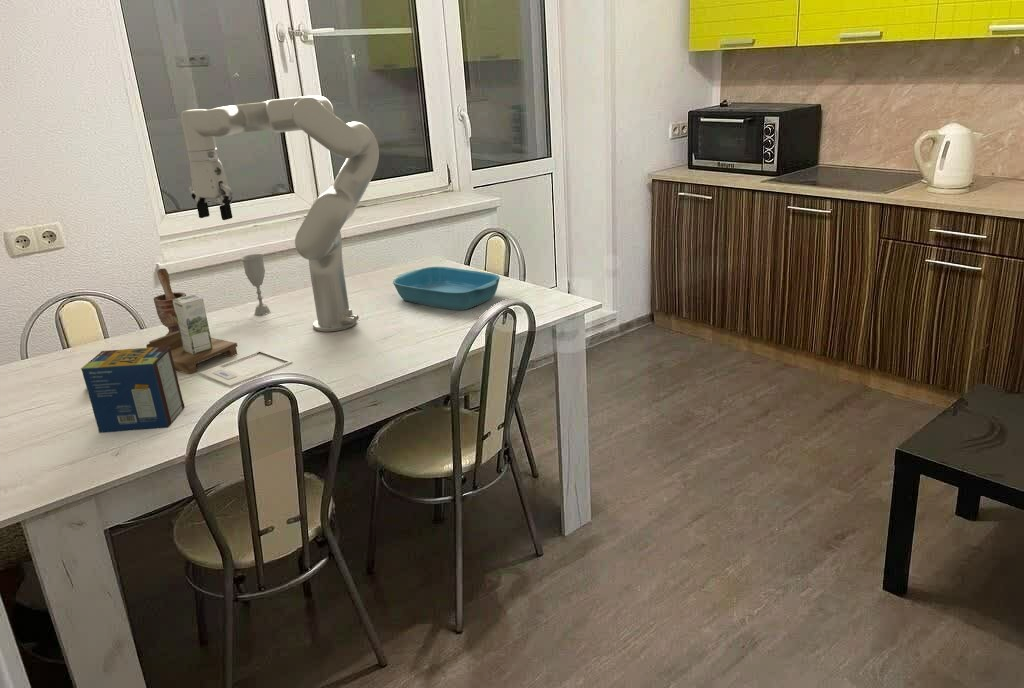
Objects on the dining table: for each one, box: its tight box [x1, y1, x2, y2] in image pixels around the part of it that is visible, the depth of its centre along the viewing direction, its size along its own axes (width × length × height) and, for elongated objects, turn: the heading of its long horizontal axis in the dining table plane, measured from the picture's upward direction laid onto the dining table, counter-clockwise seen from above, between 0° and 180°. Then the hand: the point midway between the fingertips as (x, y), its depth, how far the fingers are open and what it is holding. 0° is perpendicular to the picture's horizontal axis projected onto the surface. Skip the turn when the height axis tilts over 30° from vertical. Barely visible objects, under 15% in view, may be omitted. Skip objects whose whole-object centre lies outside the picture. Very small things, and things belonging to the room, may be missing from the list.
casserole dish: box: [392, 266, 501, 311], centre depth 243 cm, size 37×22×7 cm, turn 54°
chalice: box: [240, 253, 271, 316], centre depth 238 cm, size 7×7×18 cm
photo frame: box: [198, 350, 293, 388], centre depth 197 cm, size 15×1×18 cm
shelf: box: [148, 331, 238, 375], centre depth 204 cm, size 14×16×7 cm
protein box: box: [80, 346, 185, 434], centre depth 169 cm, size 10×15×16 cm
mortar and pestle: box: [153, 268, 187, 336], centre depth 219 cm, size 12×9×20 cm
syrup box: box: [173, 294, 213, 355], centre depth 201 cm, size 6×6×14 cm
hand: (215, 218), depth 216 cm, fingers open, 9 cm apart
